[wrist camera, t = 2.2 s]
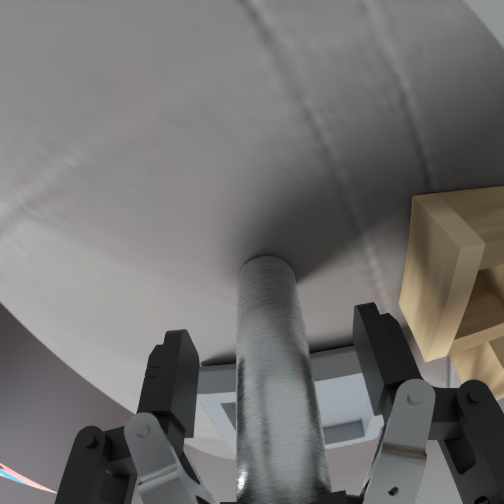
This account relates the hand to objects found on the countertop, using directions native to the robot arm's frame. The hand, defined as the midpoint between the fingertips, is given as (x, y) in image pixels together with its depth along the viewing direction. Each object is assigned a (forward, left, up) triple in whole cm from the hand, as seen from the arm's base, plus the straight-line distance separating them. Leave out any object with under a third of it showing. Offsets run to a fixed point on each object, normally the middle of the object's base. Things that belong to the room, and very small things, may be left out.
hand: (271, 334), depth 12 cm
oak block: (0, +10, -3) cm, 11 cm away
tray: (+12, +1, -3) cm, 12 cm away
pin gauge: (0, 0, -3) cm, 3 cm away
